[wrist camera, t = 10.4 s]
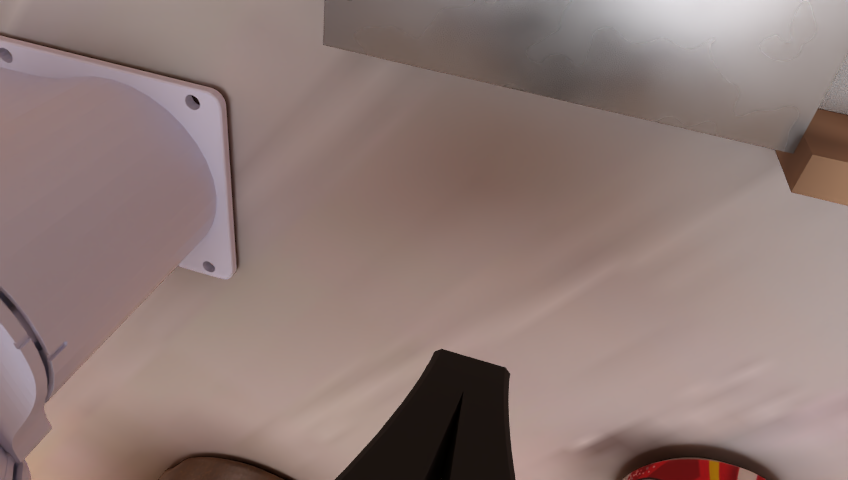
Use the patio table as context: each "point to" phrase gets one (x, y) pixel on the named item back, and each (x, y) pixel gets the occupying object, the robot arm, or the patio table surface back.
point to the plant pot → (215, 470)
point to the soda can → (691, 470)
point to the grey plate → (624, 54)
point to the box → (820, 159)
